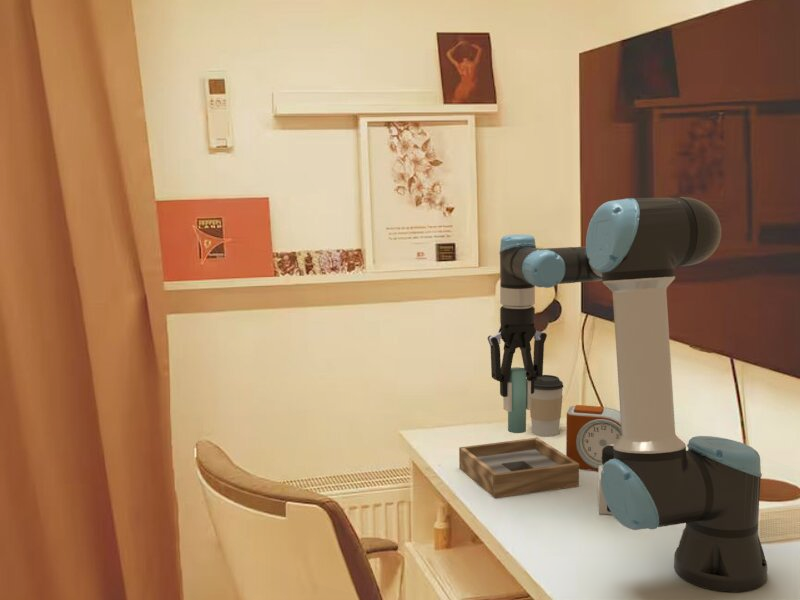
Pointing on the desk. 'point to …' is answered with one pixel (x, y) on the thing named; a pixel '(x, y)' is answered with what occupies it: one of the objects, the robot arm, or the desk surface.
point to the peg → (518, 401)
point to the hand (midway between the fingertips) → (517, 409)
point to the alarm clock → (591, 434)
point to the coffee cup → (546, 405)
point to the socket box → (518, 467)
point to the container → (606, 456)
